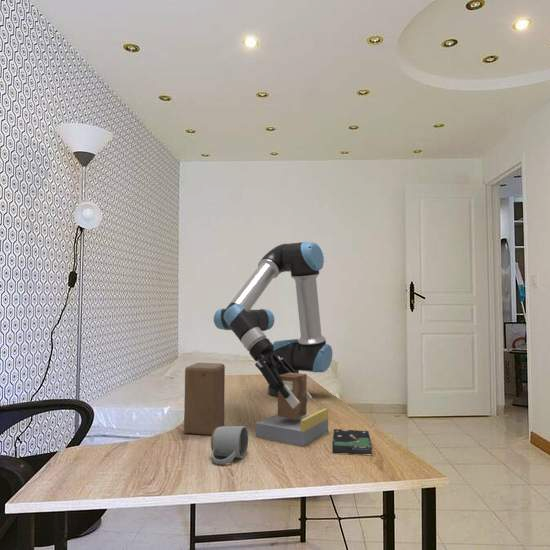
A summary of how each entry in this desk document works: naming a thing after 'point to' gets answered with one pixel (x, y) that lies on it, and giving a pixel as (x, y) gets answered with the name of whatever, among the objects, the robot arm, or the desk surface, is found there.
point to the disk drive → (351, 442)
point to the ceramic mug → (229, 443)
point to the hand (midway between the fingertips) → (302, 402)
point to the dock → (294, 428)
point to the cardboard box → (299, 389)
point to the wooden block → (204, 398)
